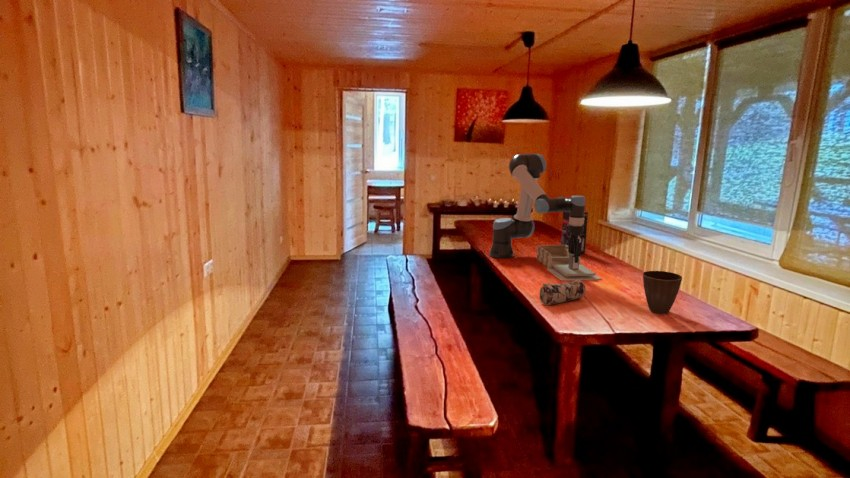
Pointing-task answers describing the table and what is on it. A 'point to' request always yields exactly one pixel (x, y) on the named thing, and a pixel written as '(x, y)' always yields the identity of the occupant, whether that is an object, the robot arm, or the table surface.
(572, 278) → the grey tray
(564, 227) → the graphics card box
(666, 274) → the plant pot
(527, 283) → the table surface
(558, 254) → the wooden box
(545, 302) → the pencil case
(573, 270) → the sliding lid
